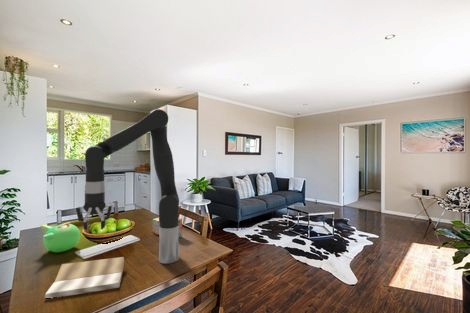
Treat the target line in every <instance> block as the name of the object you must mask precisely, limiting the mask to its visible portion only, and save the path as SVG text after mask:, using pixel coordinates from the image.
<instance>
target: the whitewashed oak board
mask: <svg viewBox="0 0 470 313" xmlns="http://www.w3.org/2000/svg"><path fill="white" fill-rule="evenodd" d="M122 276H123V272H120V273H113V274H106V275H99V276H92V277H85V278H78V279H71V280H64V281H57V282H55V281H54V282H52V285H51V286H50V287H49V288H48V289H47V291H46V293H44V299H45V298H51V299H54V298H53V297H57V298H62V296H63V297H68V296H75V295H81V294H86V293H93V292H99V291H100V292H101V291H106V290H112V289H117V288H118V289H119V288H120V285H121V281H122V278H123V277H122Z"/></svg>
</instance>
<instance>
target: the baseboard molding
mask: <svg viewBox="0 0 470 313" xmlns="http://www.w3.org/2000/svg"><path fill="white" fill-rule="evenodd" d="M122 237H123V238H122ZM122 237H121V238H122V239H120V240H118V241H115V242H111V243H108V244H102V243H99V244H95V245H92V246H88V247H86V248H83V249H80V250H75V251H74V254H75V255H76V256H78V257H79V258H80V259H82V260H86V259H90V258H93V257H96V256H98V255H101V254H104V253H107V252H110V251H114V250H116V249H119V248H122V247H124V246H127V245H130V244H133V243H136V242H139V241H141V239H140V237H137V236H134V235H132V234H129V235H126V236H122Z"/></svg>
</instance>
